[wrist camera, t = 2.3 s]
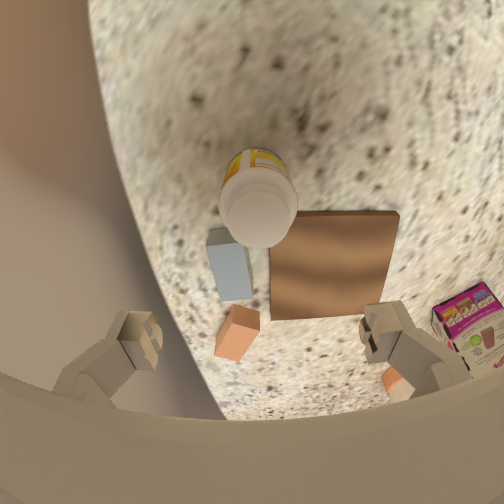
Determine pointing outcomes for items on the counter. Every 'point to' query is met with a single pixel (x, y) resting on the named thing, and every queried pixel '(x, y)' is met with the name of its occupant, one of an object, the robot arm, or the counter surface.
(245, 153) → the supplement bottle
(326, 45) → the counter surface
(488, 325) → the candy bar box
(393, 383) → the pepper shaker
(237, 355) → the brick terracotta
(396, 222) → the board
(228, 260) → the brick blue
